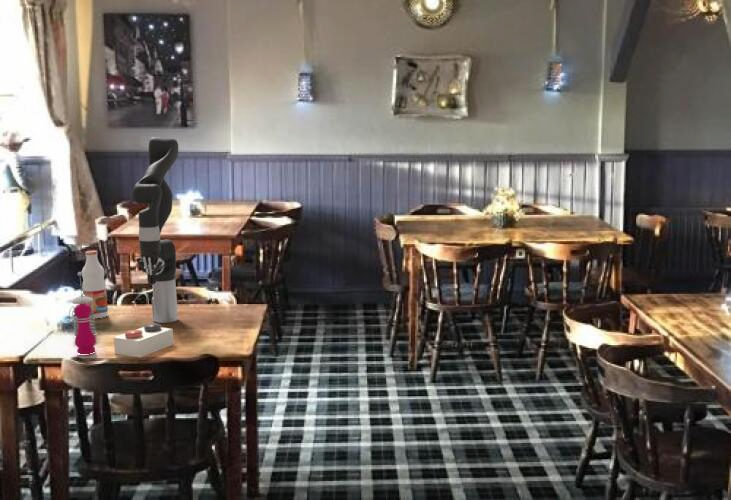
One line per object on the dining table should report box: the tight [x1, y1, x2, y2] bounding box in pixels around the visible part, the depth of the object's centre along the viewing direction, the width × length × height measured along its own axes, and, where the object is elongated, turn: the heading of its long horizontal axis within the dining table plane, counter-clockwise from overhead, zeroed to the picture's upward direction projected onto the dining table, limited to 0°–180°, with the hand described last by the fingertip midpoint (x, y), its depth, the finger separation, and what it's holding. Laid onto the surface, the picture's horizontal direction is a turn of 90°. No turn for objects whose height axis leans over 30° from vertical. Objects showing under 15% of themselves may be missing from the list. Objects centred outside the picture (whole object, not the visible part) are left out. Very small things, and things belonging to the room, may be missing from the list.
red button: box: [124, 329, 142, 338], centre depth 340 cm, size 6×6×5 cm
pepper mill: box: [73, 300, 97, 354], centre depth 340 cm, size 7×7×20 cm
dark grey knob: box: [143, 322, 162, 332], centre depth 349 cm, size 6×6×5 cm
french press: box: [68, 271, 98, 336], centre depth 365 cm, size 10×12×25 cm
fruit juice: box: [81, 250, 109, 319], centre depth 393 cm, size 9×9×28 cm
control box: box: [113, 326, 174, 358], centre depth 345 cm, size 12×18×6 cm, turn 151°
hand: (151, 284), depth 350 cm, fingers closed
